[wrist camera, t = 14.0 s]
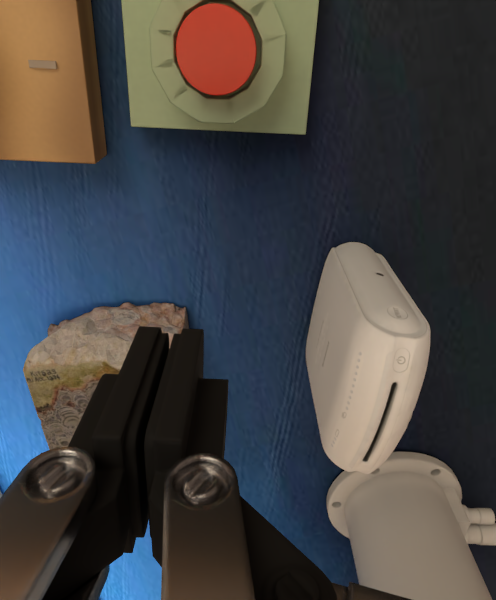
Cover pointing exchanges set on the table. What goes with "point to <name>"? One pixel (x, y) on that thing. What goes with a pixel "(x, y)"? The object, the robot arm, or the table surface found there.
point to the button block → (239, 104)
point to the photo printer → (364, 357)
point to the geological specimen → (87, 360)
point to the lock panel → (49, 83)
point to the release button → (216, 49)
